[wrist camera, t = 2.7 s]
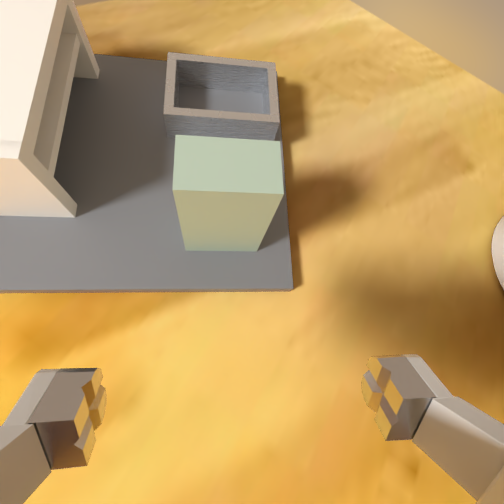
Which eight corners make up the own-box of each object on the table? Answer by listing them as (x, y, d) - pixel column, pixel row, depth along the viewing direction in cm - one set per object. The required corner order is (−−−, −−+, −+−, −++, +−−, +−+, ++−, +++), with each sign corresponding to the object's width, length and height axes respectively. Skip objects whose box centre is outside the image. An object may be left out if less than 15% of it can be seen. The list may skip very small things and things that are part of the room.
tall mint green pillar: (254, 204, 28) (278, 127, 18) (256, 251, 26) (283, 194, 17) (187, 202, 27) (176, 120, 17) (185, 250, 25) (172, 189, 16)
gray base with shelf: (274, 80, 34) (296, -12, 26) (289, 291, 27) (328, 261, 18) (43, 59, 31) (-21, -55, 22) (-14, 293, 23) (-144, 257, 15)
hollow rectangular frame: (269, 88, 32) (275, 62, 29) (272, 144, 30) (279, 122, 27) (171, 79, 31) (167, 51, 28) (167, 137, 29) (163, 114, 26)
